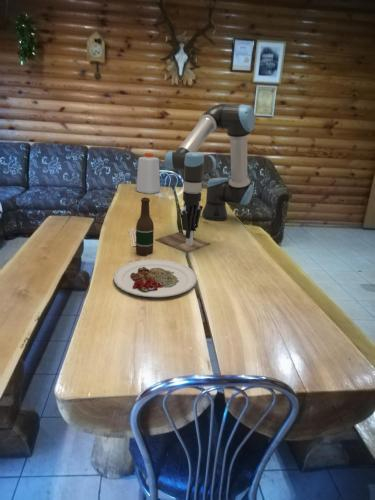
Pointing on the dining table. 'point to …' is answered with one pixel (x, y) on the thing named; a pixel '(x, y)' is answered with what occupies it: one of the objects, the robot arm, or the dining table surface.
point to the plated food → (155, 278)
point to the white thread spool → (148, 174)
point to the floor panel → (173, 239)
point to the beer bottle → (144, 230)
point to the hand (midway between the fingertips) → (189, 244)
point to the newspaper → (132, 236)
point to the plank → (192, 246)
